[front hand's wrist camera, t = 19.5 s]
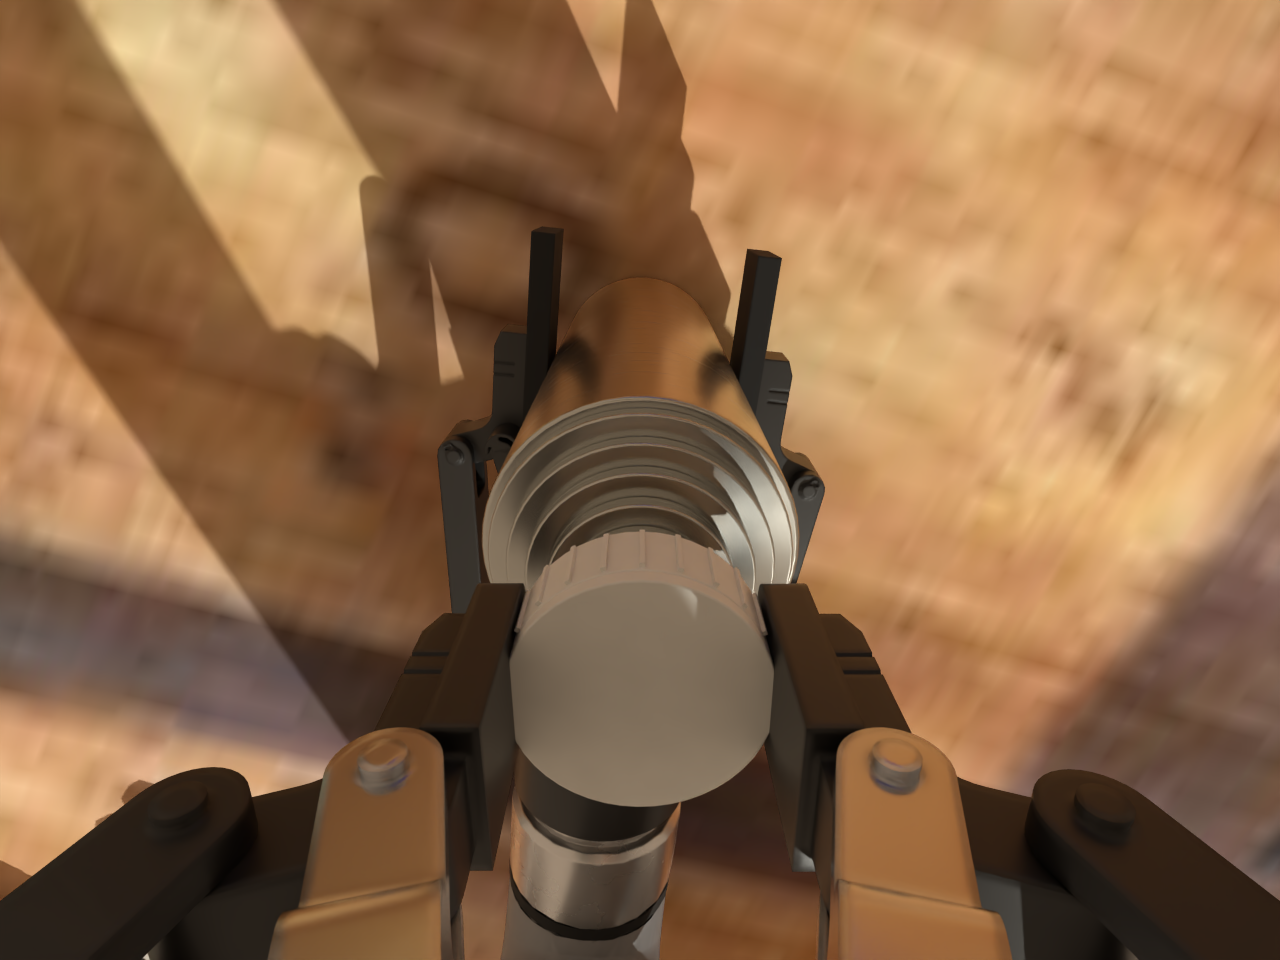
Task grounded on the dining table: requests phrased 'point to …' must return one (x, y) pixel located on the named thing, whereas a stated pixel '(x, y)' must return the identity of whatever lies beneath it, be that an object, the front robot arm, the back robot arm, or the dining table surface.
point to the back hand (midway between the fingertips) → (656, 242)
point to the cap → (641, 670)
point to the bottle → (640, 446)
